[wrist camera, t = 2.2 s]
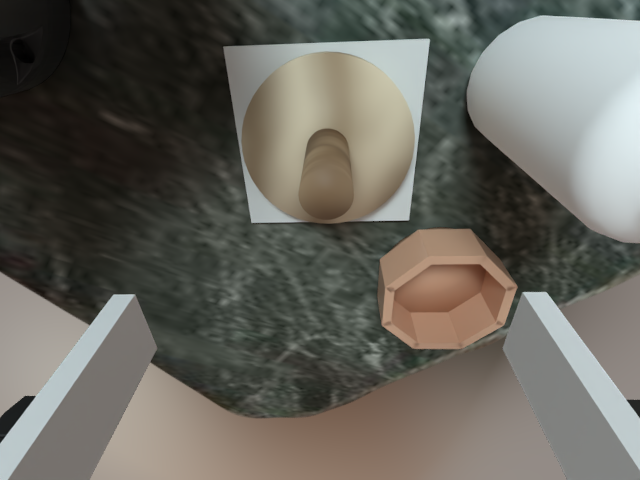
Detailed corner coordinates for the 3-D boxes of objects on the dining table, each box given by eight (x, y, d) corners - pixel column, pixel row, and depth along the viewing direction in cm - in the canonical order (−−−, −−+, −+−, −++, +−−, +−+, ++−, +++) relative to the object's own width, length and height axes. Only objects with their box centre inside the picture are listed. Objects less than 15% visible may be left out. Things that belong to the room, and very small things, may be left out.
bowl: (374, 311, 38) (379, 349, 34) (380, 224, 33) (387, 256, 28) (477, 311, 38) (495, 348, 34) (503, 222, 32) (528, 255, 28)
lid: (256, 217, 32) (233, 283, 25) (231, 54, 25) (188, 77, 17) (403, 215, 32) (426, 281, 24) (421, 48, 24) (461, 68, 17)
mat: (252, 220, 33) (251, 222, 32) (224, 46, 25) (223, 46, 25) (408, 218, 32) (408, 220, 32) (428, 38, 24) (429, 39, 24)
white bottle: (438, 105, 27) (573, 236, 12) (523, -14, 23) (896, -47, 8) (520, 159, 29) (724, 328, 14) (612, 58, 25) (1043, 143, 10)
